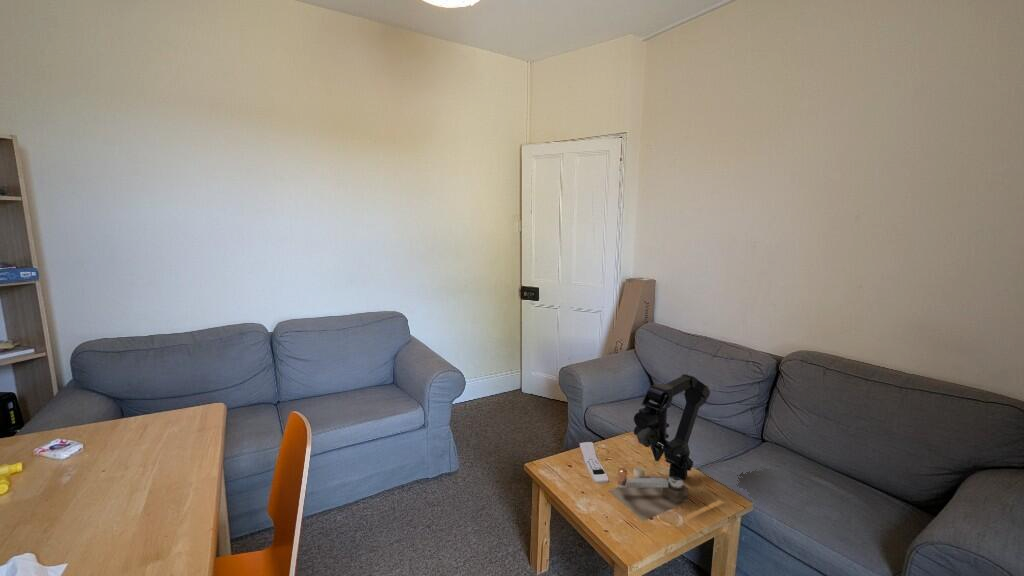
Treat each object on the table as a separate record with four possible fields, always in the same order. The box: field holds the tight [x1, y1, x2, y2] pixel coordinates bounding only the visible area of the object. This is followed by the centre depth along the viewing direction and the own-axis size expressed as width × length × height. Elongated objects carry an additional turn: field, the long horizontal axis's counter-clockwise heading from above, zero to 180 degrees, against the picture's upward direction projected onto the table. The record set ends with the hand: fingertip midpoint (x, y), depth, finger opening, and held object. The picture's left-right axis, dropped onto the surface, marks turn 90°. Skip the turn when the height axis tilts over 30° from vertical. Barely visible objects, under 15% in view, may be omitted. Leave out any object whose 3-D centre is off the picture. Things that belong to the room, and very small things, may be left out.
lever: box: [617, 467, 684, 490], centre depth 148 cm, size 23×5×6 cm, turn 89°
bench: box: [607, 473, 690, 522], centre depth 150 cm, size 22×18×6 cm
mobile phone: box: [579, 441, 609, 484], centre depth 168 cm, size 6×6×25 cm
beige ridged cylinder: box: [632, 466, 646, 478], centre depth 156 cm, size 4×4×6 cm
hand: (657, 460), depth 152 cm, fingers closed
